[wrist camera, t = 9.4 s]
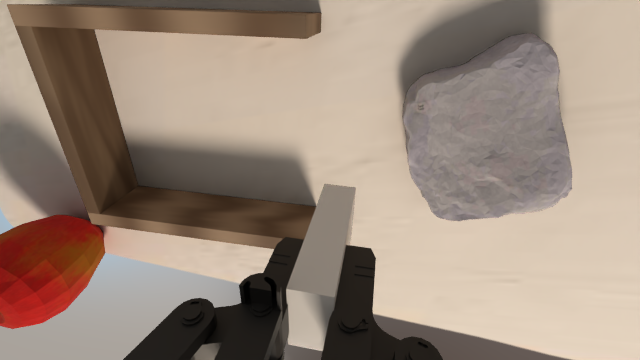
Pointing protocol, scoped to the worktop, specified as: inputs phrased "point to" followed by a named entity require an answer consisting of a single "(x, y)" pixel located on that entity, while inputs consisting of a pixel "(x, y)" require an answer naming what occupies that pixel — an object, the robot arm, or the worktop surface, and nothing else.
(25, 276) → the apple
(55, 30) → the cubby
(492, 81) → the stone block
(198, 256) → the worktop surface
